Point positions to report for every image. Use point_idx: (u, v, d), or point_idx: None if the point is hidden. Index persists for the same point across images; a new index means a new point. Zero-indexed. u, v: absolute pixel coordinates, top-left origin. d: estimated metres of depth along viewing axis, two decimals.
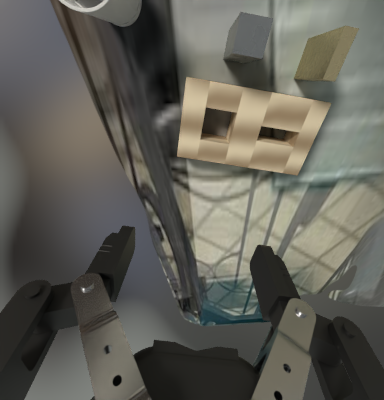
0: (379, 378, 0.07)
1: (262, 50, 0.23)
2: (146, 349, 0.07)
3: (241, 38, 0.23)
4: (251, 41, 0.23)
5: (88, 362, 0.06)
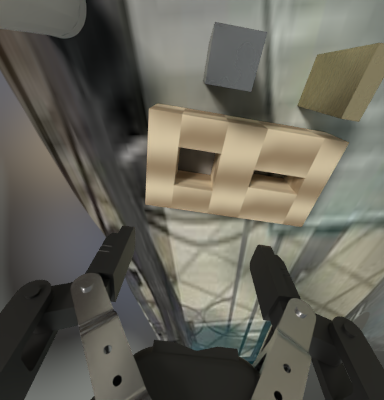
0: (379, 378, 0.07)
1: (251, 79, 0.15)
2: (146, 349, 0.07)
3: (218, 62, 0.15)
4: (233, 66, 0.15)
5: (88, 362, 0.06)
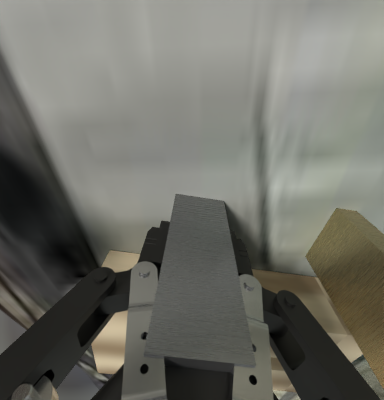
0: (320, 336, 0.08)
1: None
2: None
3: None
4: None
5: (126, 339, 0.07)
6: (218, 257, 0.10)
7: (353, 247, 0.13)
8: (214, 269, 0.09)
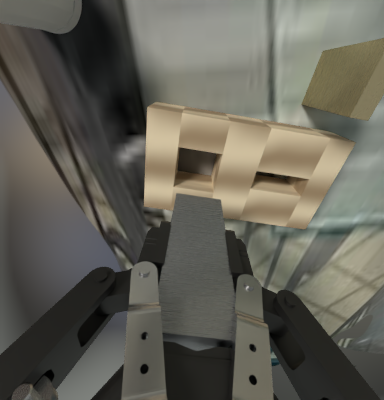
0: (320, 336, 0.08)
1: None
2: None
3: None
4: None
5: (127, 339, 0.07)
6: (214, 252, 0.11)
7: (333, 61, 0.19)
8: (210, 262, 0.11)
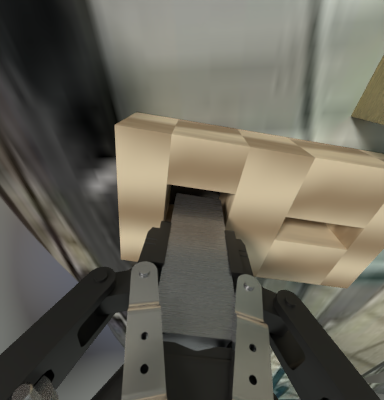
0: (320, 335, 0.08)
1: None
2: None
3: None
4: None
5: (127, 339, 0.07)
6: (213, 252, 0.11)
7: None
8: (210, 262, 0.11)
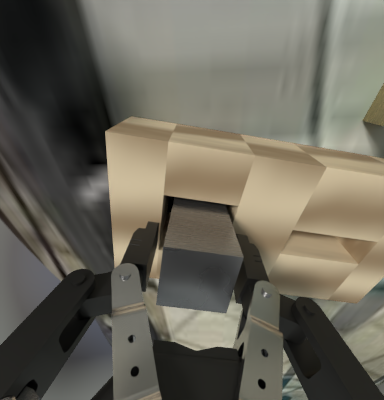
0: (340, 347, 0.08)
1: (224, 302, 0.10)
2: None
3: (173, 285, 0.10)
4: (197, 289, 0.10)
5: (113, 345, 0.06)
6: (215, 211, 0.13)
7: None
8: (212, 216, 0.12)
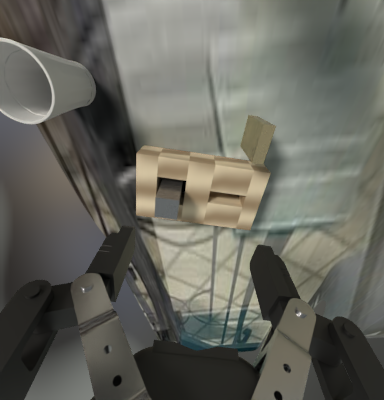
0: (379, 378, 0.07)
1: (175, 215, 0.32)
2: (146, 349, 0.07)
3: (159, 209, 0.31)
4: (166, 211, 0.31)
5: (88, 362, 0.06)
6: (176, 187, 0.34)
7: (250, 125, 0.31)
8: (174, 188, 0.33)
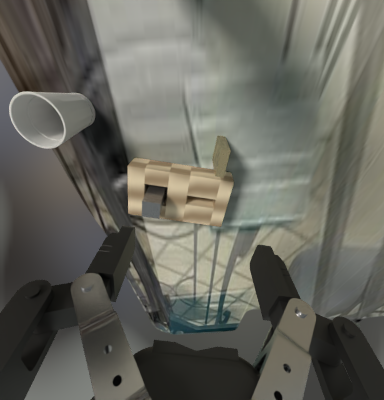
0: (379, 377, 0.07)
1: (158, 215, 0.41)
2: (146, 349, 0.07)
3: (145, 210, 0.40)
4: (151, 211, 0.40)
5: (88, 362, 0.06)
6: (159, 192, 0.43)
7: (217, 145, 0.40)
8: (158, 193, 0.42)
